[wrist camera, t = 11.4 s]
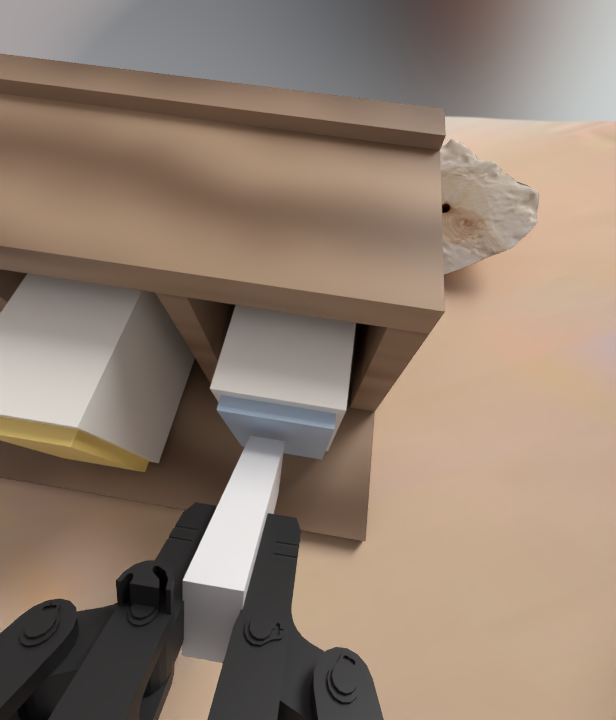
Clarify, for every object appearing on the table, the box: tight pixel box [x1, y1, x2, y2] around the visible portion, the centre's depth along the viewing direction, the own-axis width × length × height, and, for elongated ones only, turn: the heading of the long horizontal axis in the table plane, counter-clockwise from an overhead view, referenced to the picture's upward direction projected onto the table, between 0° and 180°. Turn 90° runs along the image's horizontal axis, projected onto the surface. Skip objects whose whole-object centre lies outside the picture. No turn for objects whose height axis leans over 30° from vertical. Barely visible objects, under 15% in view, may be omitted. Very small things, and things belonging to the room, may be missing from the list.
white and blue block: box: [210, 305, 356, 460], centre depth 17 cm, size 8×5×8 cm, turn 171°
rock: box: [440, 139, 539, 274], centre depth 27 cm, size 11×4×12 cm
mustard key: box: [0, 273, 195, 472], centre depth 16 cm, size 8×5×8 cm, turn 171°
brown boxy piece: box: [0, 54, 446, 541], centre depth 17 cm, size 18×28×12 cm, turn 81°
